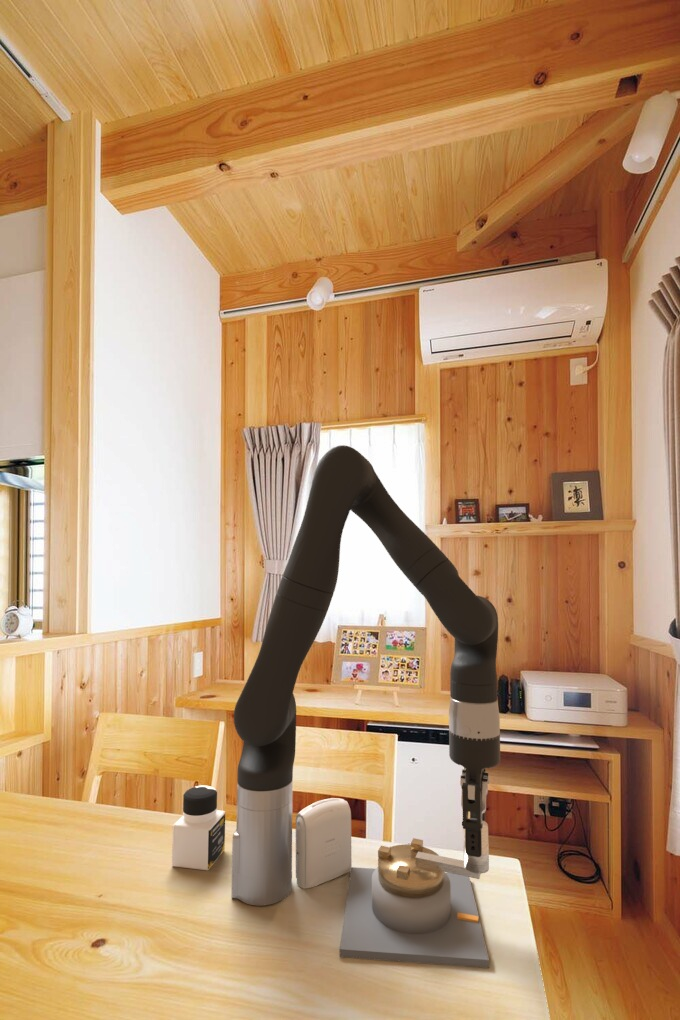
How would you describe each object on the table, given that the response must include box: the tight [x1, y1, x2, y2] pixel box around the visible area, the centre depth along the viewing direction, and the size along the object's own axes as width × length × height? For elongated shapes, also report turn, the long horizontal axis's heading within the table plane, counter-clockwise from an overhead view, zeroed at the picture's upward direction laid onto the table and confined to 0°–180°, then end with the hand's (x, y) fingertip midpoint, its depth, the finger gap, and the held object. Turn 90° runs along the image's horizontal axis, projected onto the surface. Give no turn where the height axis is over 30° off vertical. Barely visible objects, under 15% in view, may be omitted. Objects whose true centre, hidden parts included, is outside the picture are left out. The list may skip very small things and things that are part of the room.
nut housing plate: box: [339, 866, 490, 969], centre depth 83 cm, size 20×20×5 cm
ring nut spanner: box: [377, 817, 490, 898], centre depth 82 cm, size 17×10×10 cm, turn 68°
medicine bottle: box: [171, 784, 226, 871], centre depth 99 cm, size 7×7×12 cm
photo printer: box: [295, 797, 352, 890], centre depth 93 cm, size 10×4×12 cm, turn 124°
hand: (475, 840), depth 81 cm, fingers open, 8 cm apart
